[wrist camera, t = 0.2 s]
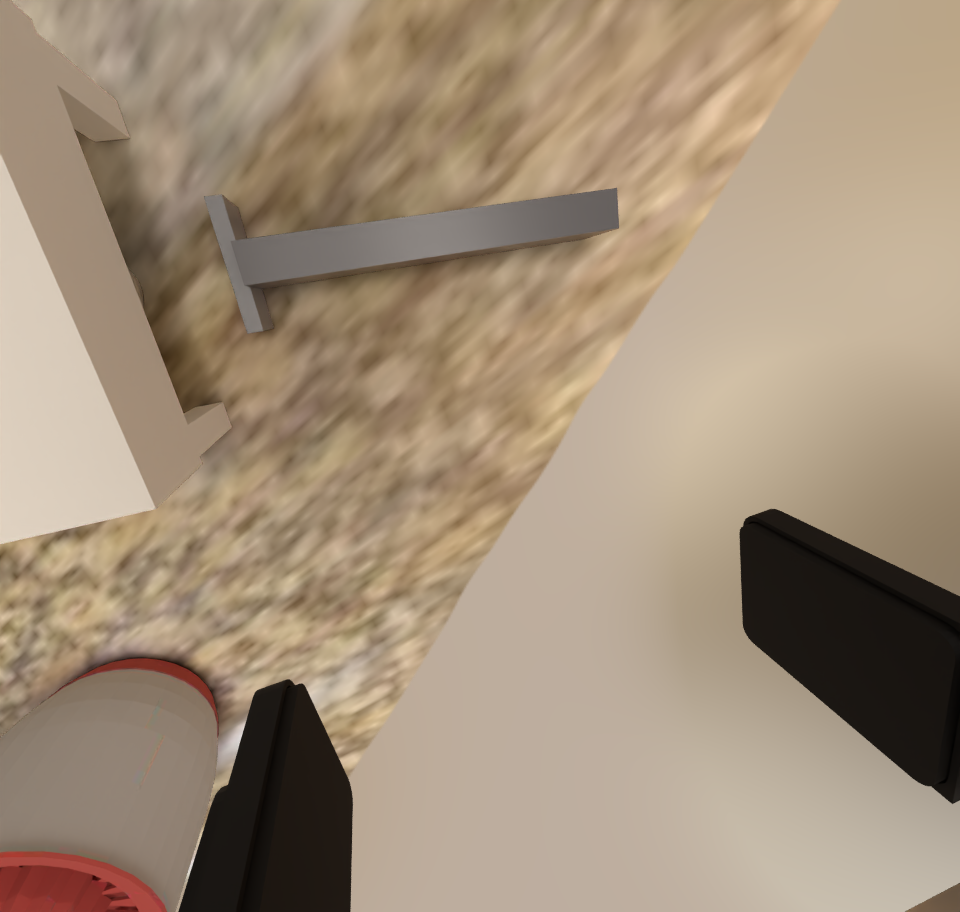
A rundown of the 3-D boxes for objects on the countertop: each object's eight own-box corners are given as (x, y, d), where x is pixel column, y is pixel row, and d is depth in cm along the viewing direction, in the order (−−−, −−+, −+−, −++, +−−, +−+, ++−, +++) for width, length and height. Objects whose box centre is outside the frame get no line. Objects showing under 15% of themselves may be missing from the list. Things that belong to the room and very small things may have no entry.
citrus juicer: (30, 798, 40) (-251, 1214, 22) (34, 628, 36) (-307, 961, 18) (228, 791, 45) (134, 1130, 26) (251, 639, 41) (159, 913, 22)
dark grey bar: (222, 209, 31) (195, 190, 26) (578, 165, 36) (614, 141, 31) (259, 330, 34) (242, 334, 29) (586, 275, 38) (621, 270, 33)
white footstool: (-88, 106, 26) (-554, -104, 13) (113, 90, 28) (-115, -109, 15) (83, 464, 34) (-101, 566, 20) (234, 433, 36) (155, 509, 22)
